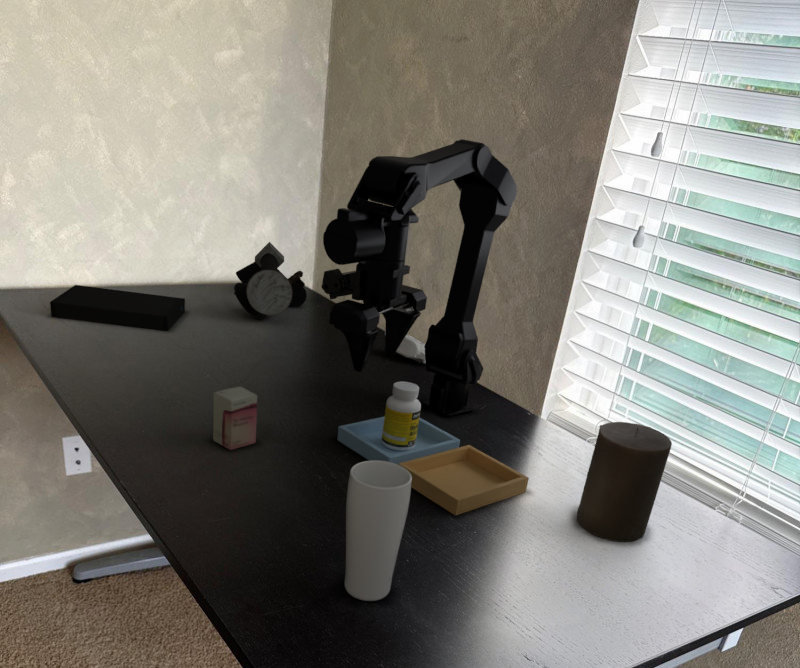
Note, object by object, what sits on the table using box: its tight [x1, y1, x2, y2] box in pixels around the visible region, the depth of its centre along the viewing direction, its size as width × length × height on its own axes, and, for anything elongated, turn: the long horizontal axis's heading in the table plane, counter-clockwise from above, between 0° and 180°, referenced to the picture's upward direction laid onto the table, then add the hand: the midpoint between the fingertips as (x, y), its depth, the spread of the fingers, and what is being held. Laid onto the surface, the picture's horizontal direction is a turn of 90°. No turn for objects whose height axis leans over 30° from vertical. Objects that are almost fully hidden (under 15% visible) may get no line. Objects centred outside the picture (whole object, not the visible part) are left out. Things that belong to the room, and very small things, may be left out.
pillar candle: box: [576, 421, 673, 542], centre depth 111 cm, size 10×10×15 cm
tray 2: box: [398, 444, 530, 516], centre depth 119 cm, size 15×13×2 cm
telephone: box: [233, 241, 308, 320], centre depth 184 cm, size 15×13×30 cm
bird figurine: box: [395, 333, 426, 365], centre depth 165 cm, size 5×7×10 cm
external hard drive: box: [49, 284, 186, 332], centre depth 168 cm, size 14×23×3 cm, turn 89°
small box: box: [212, 386, 258, 451], centre depth 121 cm, size 5×4×8 cm
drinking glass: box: [343, 460, 412, 602], centre depth 90 cm, size 7×7×15 cm
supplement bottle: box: [382, 381, 422, 451], centre depth 126 cm, size 5×5×10 cm
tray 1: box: [337, 415, 461, 465], centre depth 128 cm, size 15×13×2 cm
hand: (374, 363), depth 122 cm, fingers open, 9 cm apart
